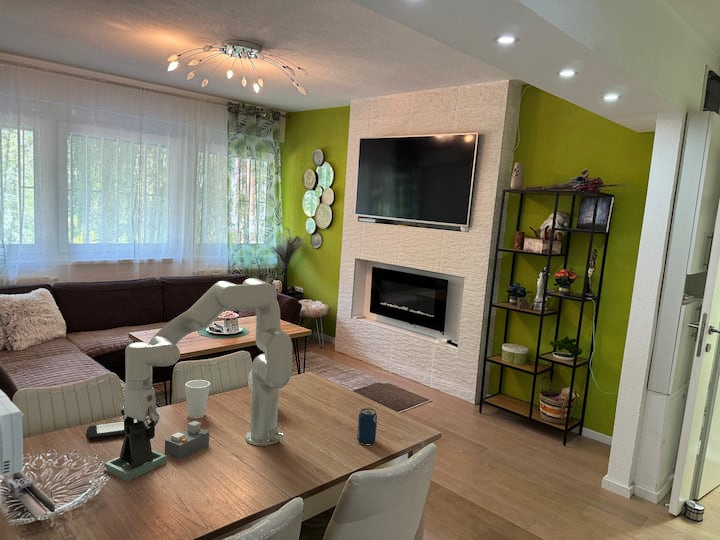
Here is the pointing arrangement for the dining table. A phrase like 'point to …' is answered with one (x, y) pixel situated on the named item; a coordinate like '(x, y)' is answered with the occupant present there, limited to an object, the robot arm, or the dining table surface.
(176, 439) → the block
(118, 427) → the light switch
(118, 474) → the tray
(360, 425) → the soda can
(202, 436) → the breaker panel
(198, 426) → the block
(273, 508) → the dining table surface
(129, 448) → the phone stand
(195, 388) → the foam cup
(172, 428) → the dining table surface
